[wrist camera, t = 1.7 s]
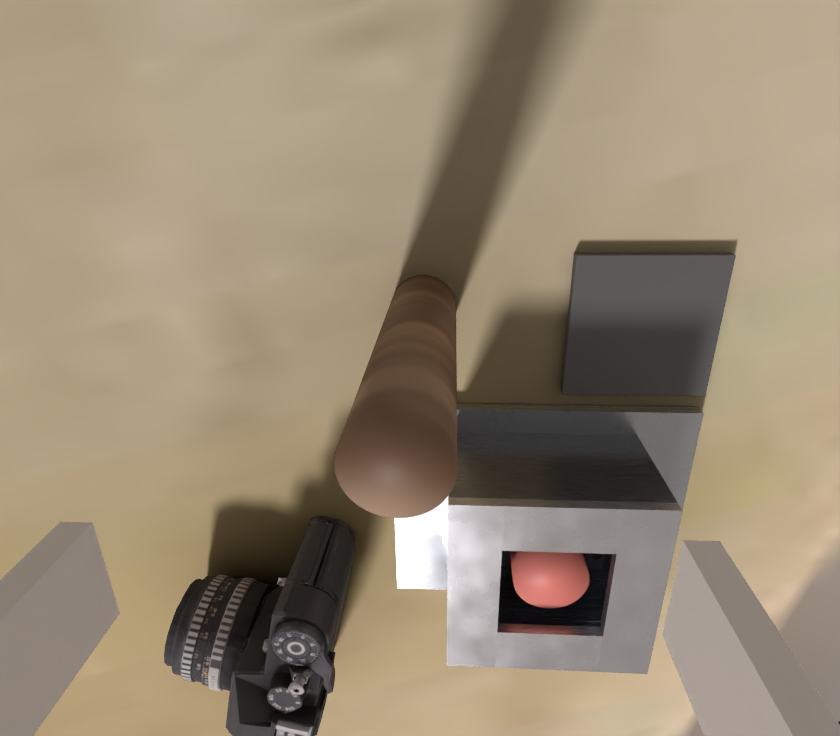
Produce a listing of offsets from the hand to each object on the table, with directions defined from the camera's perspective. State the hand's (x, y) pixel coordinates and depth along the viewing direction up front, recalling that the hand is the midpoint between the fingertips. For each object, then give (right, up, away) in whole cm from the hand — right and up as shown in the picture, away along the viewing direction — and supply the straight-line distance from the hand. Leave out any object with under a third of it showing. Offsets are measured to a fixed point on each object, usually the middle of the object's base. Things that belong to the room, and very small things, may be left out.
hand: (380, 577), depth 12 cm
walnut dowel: (+1, +8, +18) cm, 20 cm away
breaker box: (+8, -4, +23) cm, 25 cm away
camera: (-9, -11, +27) cm, 31 cm away
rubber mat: (+13, +7, +18) cm, 23 cm away
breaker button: (+8, -5, +20) cm, 22 cm away
